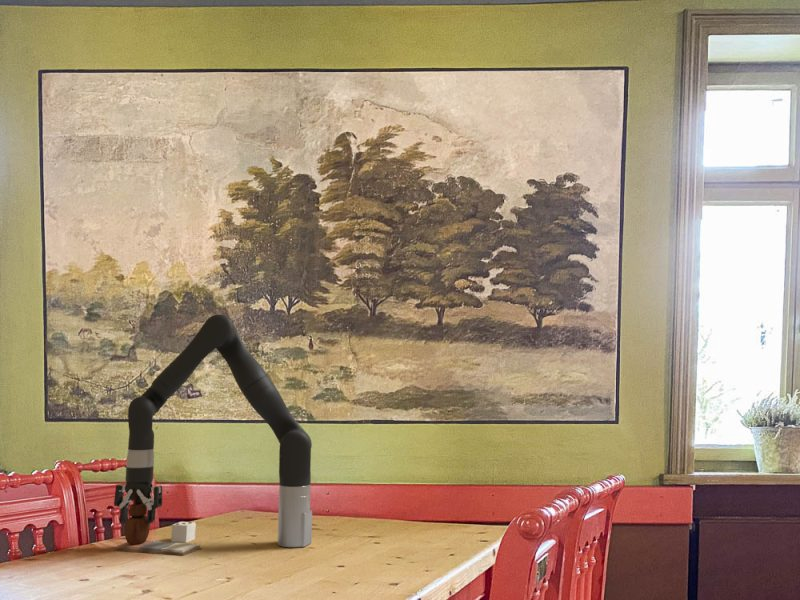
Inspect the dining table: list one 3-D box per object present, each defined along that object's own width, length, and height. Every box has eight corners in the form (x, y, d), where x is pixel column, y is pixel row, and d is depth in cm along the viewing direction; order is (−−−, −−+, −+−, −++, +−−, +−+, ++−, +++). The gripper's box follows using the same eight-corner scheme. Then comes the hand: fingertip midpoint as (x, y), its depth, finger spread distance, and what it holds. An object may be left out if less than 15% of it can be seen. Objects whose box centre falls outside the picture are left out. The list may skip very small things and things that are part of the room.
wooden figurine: (132, 547, 192) (134, 492, 194) (120, 544, 195) (122, 490, 197) (152, 542, 198) (155, 489, 199) (141, 539, 201) (143, 487, 203)
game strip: (200, 548, 196) (200, 543, 197) (183, 555, 188) (183, 551, 188) (133, 543, 202) (133, 539, 202) (113, 550, 193) (113, 546, 193)
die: (194, 539, 208) (195, 522, 208) (186, 543, 203) (186, 525, 204) (180, 538, 209) (180, 521, 210) (171, 542, 204) (171, 524, 205)
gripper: (169, 464, 201) (166, 521, 199) (126, 462, 204) (123, 518, 202) (154, 467, 194) (151, 526, 192) (110, 465, 197) (107, 523, 195)
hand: (137, 522), depth 197 cm, fingers open, 8 cm apart
